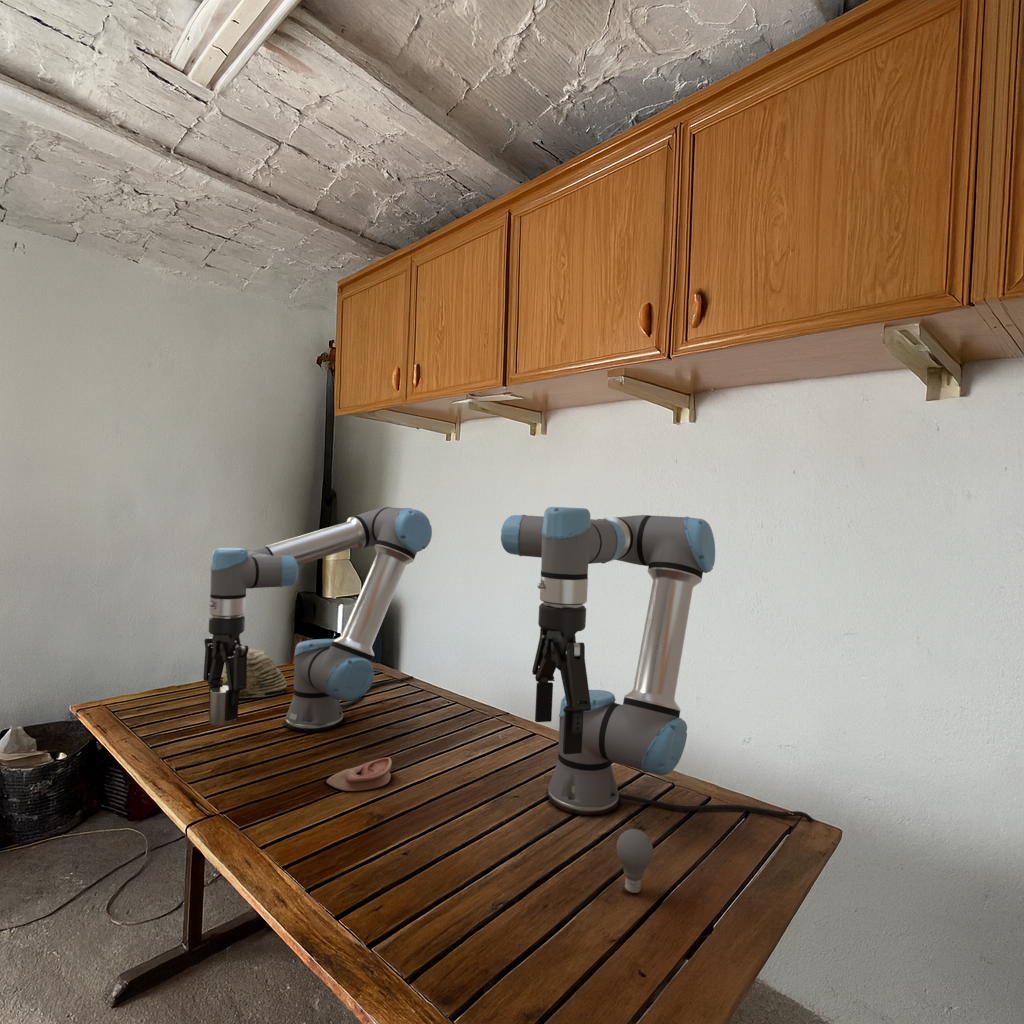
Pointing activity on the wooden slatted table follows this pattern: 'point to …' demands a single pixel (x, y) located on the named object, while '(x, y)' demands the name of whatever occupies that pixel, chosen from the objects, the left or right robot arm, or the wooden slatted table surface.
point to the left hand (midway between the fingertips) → (223, 715)
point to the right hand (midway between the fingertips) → (556, 736)
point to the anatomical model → (363, 776)
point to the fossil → (260, 676)
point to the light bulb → (634, 857)
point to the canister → (218, 706)
